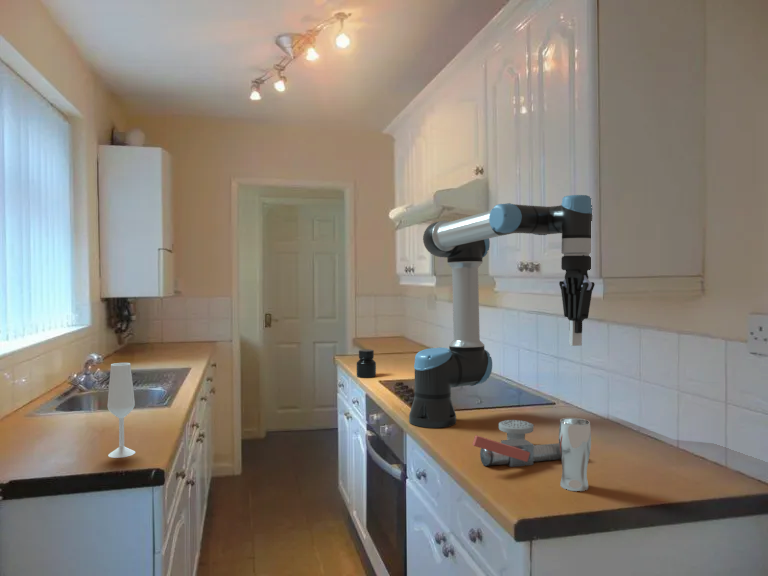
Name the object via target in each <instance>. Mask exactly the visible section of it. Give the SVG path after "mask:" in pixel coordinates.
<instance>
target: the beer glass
mask: <svg viewBox="0 0 768 576" xmlns="http://www.w3.org/2000/svg"><path fill="white" fill-rule="evenodd" d="M591 431H592V430H591V421H590V420H588V419H584V418H580V417H564V418H560V419H559V427H558V443H559V449H560V455H561V459H560V460H561V469H562V471H561V478H560V479H561V480H560V483H559V484H560V487H561V488H563V489H564V490H566V489H567V490H566V491H570V492H577V491H580V492H586V491H588V490H589V483H588V465H589V460H590V455H591V447H592V433H591ZM585 490H586V491H585Z"/></svg>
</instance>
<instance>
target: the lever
mask: <svg viewBox="0 0 768 576" xmlns="http://www.w3.org/2000/svg"><path fill="white" fill-rule="evenodd" d="M472 441H473V442H472V446H474V447H477V448H480V449H481V448H483V449H486V450H489V451H493V452H496V453H499V454H503V455H506V456H509V457H513V458H516V459H519V460H521V461H522V462H527V461H528V460H529V459H530V457H531V454H530V452H529V451H528V450H526V449H524V448H522V449H519V448H516V447H513V446H509V445H506V444H503V443H501V441H500V442H499V441H497V440H494V439H493V440H492V439H489V438H487V437H483V436H480V435H477V434H476V435H474V439H473V440H472Z"/></svg>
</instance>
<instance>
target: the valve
mask: <svg viewBox="0 0 768 576" xmlns="http://www.w3.org/2000/svg"><path fill="white" fill-rule="evenodd" d="M500 443H503V444H506V445H509V446H513V447H516V448H519V449H522V448H524V449H526V450H528V451H529V452H530V454H531V457H530V459H529V460H528V461H527V462H522V461H521V460H519V459H516V458H513V457H509V456H506V455H503V454H499V453H496V452H493V451H489V450H486V449H483V448H480V452H479V455H480V456H479V457H480V461H481V464H482V465H483V466H485V467H488V466H498V465H507V466H509V468H512V467H513V468H514V467H515V468H516V467H523V466H525V465H526V466H533V465H534V462H535V463H536V462H544V461H546V462H547V461H556V460H558V461H559V460H561V455H560V449H559V442H558V443H546V444H535V445H534V443H532V442H531V441H528V440H526V438H525V439H513V440H507V439H505V440H503V439H502V440H501V441H500Z"/></svg>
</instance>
